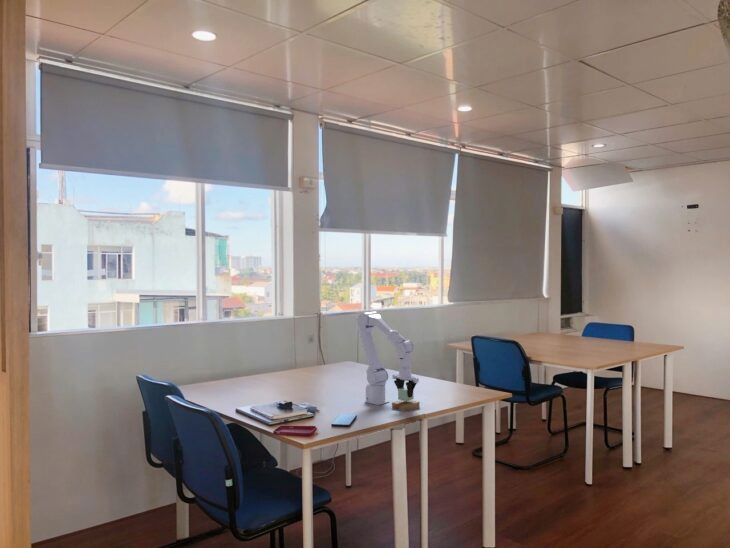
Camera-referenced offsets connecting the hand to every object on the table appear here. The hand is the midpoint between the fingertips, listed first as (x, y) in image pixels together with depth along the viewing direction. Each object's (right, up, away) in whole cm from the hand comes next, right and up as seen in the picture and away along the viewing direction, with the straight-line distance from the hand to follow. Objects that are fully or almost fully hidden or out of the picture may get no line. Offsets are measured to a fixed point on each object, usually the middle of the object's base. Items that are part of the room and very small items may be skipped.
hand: (405, 396), depth 269 cm
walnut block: (0, -6, 0) cm, 6 cm away
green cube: (0, -2, 0) cm, 2 cm away
